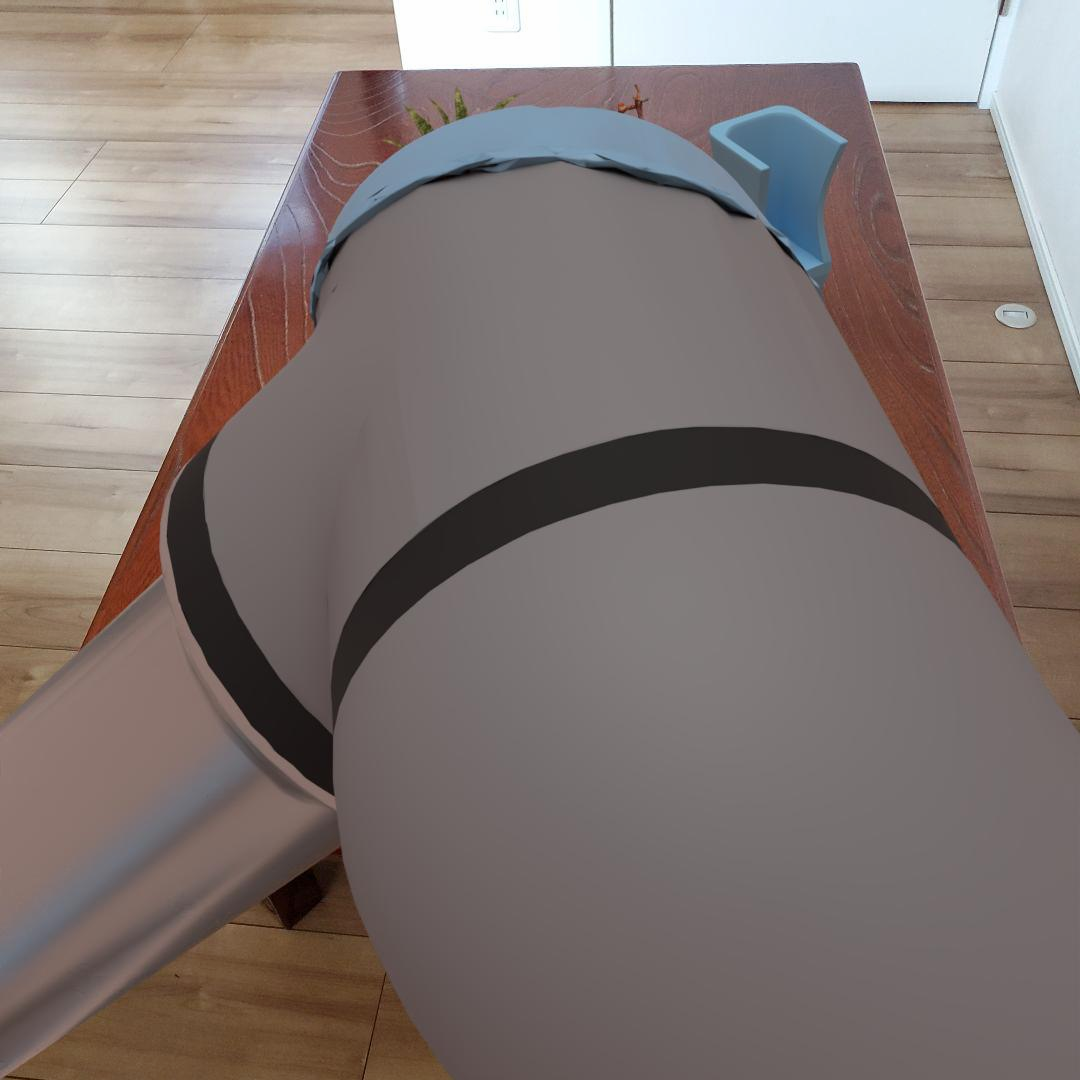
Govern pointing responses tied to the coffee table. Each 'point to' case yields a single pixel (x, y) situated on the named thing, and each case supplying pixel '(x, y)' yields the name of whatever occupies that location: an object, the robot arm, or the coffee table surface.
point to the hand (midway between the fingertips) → (655, 673)
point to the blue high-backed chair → (784, 174)
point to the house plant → (460, 114)
